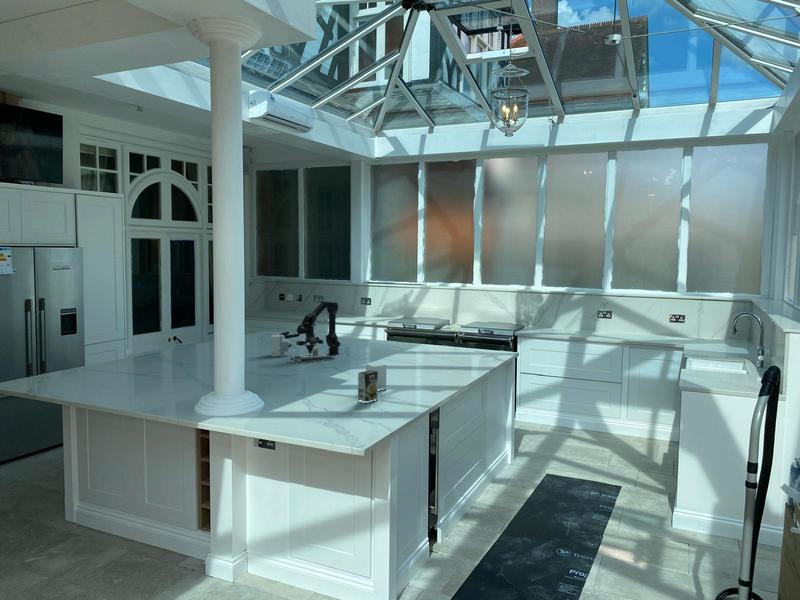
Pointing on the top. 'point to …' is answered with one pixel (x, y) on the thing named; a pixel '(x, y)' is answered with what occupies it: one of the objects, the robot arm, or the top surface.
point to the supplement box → (381, 373)
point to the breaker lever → (315, 351)
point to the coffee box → (367, 385)
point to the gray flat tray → (313, 358)
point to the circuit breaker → (279, 345)
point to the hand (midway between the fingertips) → (310, 354)
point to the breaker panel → (310, 357)
